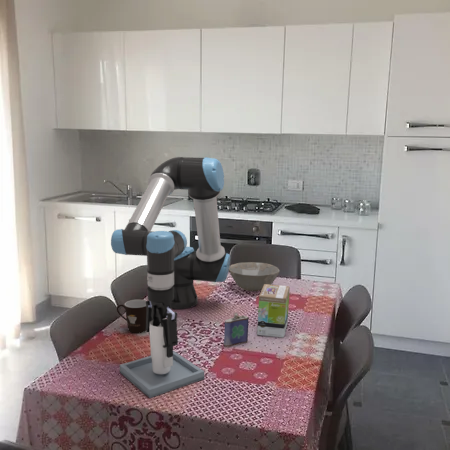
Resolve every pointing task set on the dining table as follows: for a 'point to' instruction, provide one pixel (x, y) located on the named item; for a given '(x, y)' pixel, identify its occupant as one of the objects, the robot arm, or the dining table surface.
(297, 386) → the dining table surface
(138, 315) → the coffee mug
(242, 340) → the flask
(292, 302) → the dining table surface
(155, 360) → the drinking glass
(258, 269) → the ceramic bowl
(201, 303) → the dining table surface
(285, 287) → the tea box
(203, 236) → the robot arm
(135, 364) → the tray
